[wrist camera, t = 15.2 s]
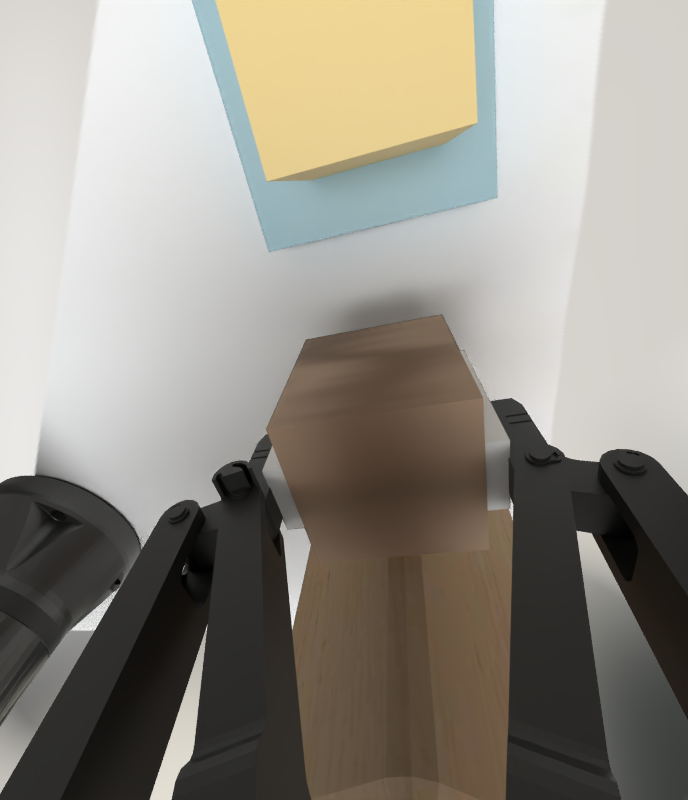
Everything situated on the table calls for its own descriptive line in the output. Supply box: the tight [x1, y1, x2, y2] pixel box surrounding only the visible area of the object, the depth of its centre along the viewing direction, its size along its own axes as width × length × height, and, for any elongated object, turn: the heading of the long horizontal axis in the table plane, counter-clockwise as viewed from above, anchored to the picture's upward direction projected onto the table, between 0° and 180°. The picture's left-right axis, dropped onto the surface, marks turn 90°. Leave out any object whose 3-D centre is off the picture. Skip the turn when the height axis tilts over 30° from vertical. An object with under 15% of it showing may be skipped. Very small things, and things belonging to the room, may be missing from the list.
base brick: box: [192, 0, 497, 252], centre depth 16 cm, size 11×11×3 cm
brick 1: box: [215, 0, 478, 182], centre depth 12 cm, size 6×6×7 cm
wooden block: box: [292, 509, 513, 800], centre depth 21 cm, size 10×10×20 cm
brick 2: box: [266, 315, 489, 562], centre depth 15 cm, size 6×6×7 cm
